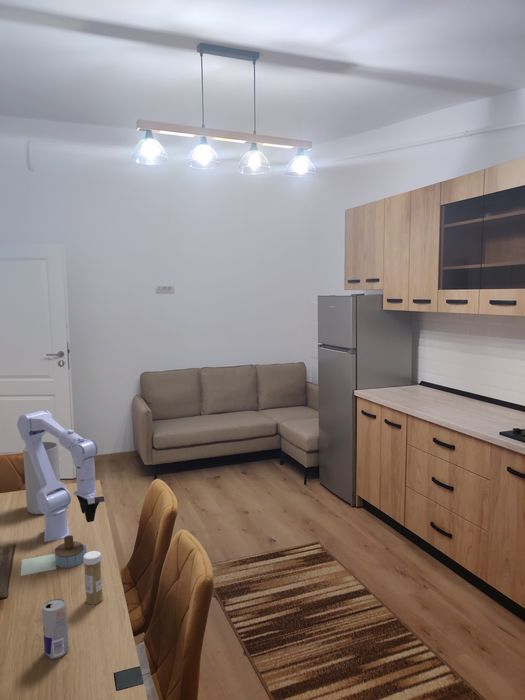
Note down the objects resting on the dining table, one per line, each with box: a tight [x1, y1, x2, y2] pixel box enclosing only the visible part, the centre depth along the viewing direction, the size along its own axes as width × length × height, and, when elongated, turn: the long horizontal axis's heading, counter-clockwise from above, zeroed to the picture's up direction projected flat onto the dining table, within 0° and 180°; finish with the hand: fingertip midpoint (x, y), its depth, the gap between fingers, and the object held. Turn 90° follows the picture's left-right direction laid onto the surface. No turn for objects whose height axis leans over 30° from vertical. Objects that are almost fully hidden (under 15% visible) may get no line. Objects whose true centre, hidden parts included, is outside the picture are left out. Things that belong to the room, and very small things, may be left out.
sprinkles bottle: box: [83, 550, 104, 605], centre depth 144 cm, size 5×5×13 cm
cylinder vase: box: [22, 441, 61, 515], centre depth 204 cm, size 12×12×25 cm
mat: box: [20, 553, 57, 577], centre depth 164 cm, size 10×10×1 cm
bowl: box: [54, 543, 88, 569], centre depth 166 cm, size 9×9×4 cm
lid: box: [54, 534, 84, 557], centre depth 165 cm, size 8×8×4 cm
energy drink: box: [41, 598, 70, 660], centre depth 124 cm, size 5×5×12 cm
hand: (87, 517), depth 174 cm, fingers open, 7 cm apart
